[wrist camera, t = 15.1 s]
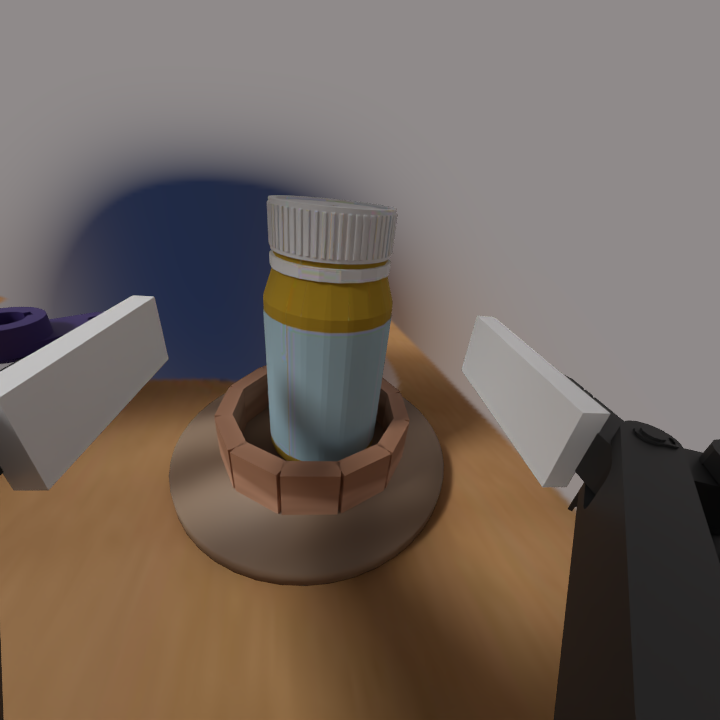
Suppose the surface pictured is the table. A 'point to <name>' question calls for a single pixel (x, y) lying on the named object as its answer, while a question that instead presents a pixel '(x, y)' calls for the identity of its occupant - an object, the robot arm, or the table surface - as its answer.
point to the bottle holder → (302, 491)
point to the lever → (32, 330)
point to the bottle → (326, 323)
